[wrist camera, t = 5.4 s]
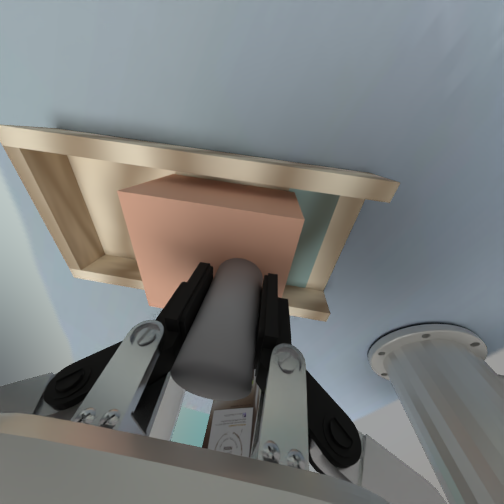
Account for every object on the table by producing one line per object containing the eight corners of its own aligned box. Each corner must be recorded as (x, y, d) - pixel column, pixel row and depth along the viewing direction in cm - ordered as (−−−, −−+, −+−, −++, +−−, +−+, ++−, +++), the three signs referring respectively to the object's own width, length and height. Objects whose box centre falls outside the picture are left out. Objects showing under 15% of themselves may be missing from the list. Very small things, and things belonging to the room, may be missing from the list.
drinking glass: (156, 325, 28) (59, 474, 16) (189, 317, 26) (107, 482, 13) (182, 349, 31) (118, 491, 18) (214, 343, 29) (166, 499, 16)
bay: (370, 173, 14) (400, 182, 10) (317, 292, 21) (326, 321, 17) (56, 128, 15) (-10, 123, 11) (105, 256, 22) (74, 277, 18)
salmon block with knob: (294, 192, 14) (340, 317, 4) (273, 278, 19) (270, 435, 9) (172, 174, 14) (-70, 246, 4) (182, 262, 19) (78, 396, 9)
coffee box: (222, 352, 30) (178, 524, 16) (258, 349, 28) (242, 539, 15) (241, 379, 34) (218, 533, 21) (273, 378, 33) (271, 545, 19)
